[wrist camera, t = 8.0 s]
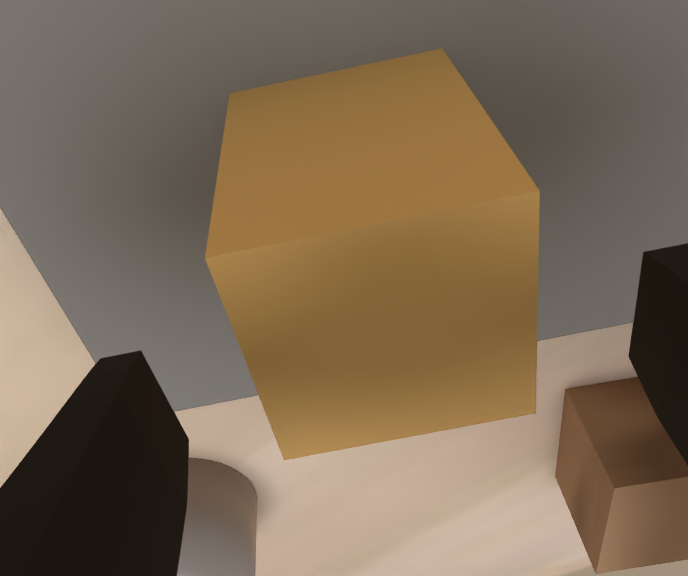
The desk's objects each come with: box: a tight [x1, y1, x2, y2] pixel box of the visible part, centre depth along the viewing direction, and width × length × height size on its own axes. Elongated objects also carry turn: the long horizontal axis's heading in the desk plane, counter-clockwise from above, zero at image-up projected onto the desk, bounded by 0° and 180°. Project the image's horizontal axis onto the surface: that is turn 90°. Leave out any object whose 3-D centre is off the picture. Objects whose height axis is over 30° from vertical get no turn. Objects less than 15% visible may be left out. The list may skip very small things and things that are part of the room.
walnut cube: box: [555, 377, 688, 574], centre depth 21 cm, size 5×5×4 cm
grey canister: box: [177, 458, 257, 576], centre depth 21 cm, size 5×5×4 cm
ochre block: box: [205, 48, 540, 460], centre depth 12 cm, size 4×4×6 cm
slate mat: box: [0, 0, 688, 412], centre depth 14 cm, size 18×14×1 cm
